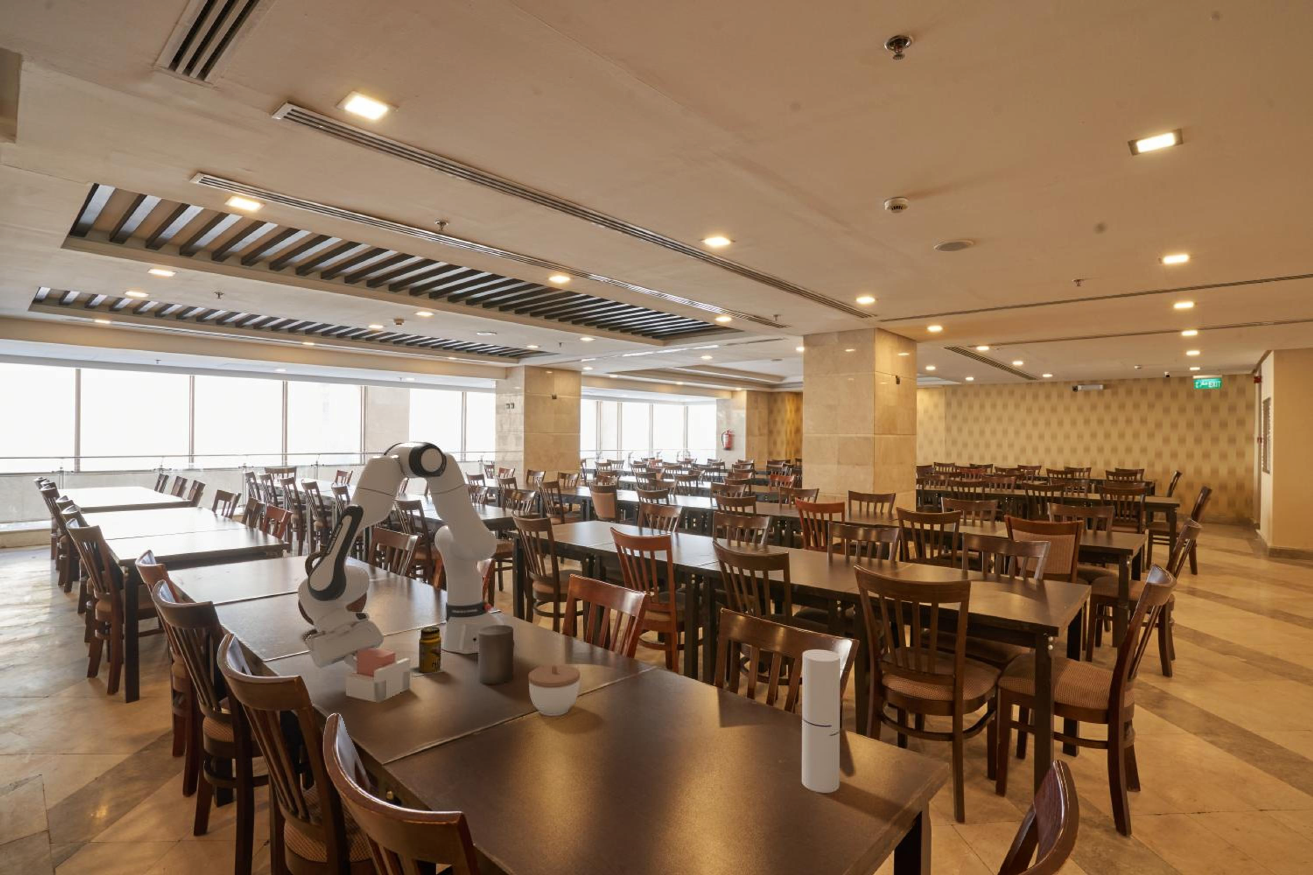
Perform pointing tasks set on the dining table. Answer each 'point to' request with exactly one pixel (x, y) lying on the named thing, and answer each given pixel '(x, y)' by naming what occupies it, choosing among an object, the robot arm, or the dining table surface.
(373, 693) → the dock
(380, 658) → the plug
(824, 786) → the cylindrical container
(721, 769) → the dining table surface
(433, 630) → the condiment
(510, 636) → the pillar candle
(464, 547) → the robot arm
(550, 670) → the white lidded jar
